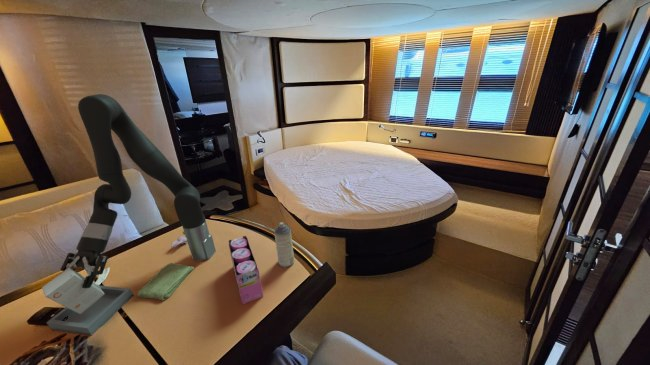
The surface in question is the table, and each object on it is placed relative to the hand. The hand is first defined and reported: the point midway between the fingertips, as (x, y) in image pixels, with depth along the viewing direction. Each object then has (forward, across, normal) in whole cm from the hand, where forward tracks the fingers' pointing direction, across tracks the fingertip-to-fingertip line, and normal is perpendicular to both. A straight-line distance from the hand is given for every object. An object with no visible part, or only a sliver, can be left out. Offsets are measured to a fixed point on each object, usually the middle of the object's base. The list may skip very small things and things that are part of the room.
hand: (75, 286), depth 82 cm
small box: (+4, 0, +7) cm, 8 cm away
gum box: (-6, +49, +24) cm, 55 cm away
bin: (+8, 0, +10) cm, 13 cm away
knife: (0, -15, +20) cm, 24 cm away
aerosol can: (-15, +62, +32) cm, 71 cm away
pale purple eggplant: (-20, +6, +39) cm, 45 cm away
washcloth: (-2, +17, +22) cm, 27 cm away
